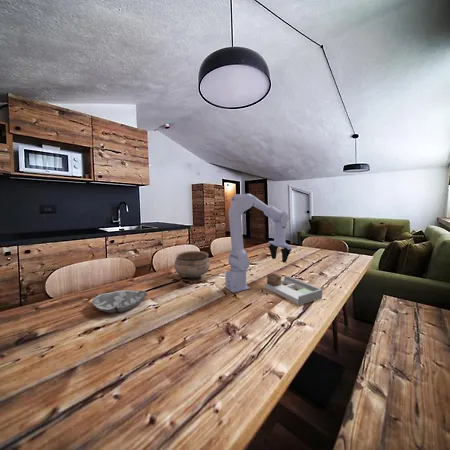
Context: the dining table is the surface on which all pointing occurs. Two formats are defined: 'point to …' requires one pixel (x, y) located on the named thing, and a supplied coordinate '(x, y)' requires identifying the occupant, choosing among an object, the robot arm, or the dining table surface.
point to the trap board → (299, 296)
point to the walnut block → (274, 280)
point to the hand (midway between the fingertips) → (279, 260)
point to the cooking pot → (192, 264)
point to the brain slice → (118, 300)
